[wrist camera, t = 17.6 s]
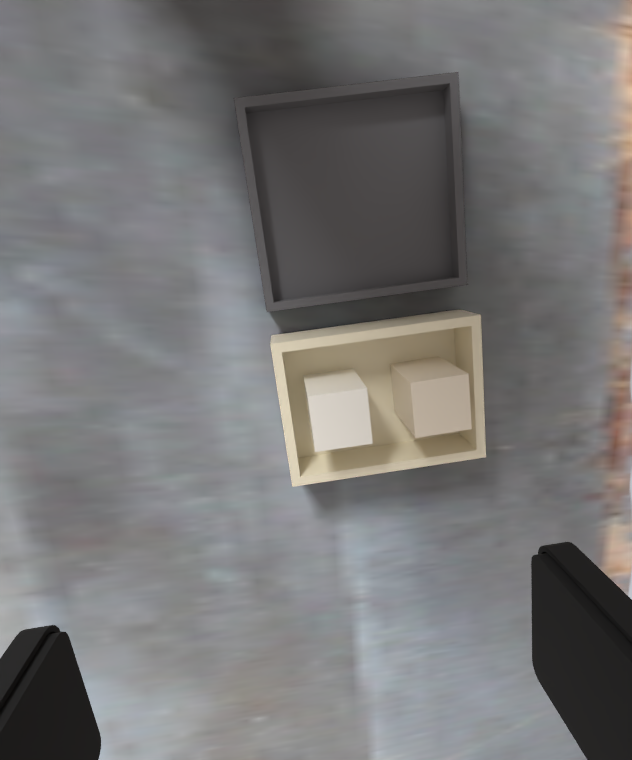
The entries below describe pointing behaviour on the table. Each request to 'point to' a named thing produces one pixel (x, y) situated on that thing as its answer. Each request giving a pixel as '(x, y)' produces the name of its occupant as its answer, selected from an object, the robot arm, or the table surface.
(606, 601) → the robot arm
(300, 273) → the pan
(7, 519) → the table surface
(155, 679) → the table surface
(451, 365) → the stone
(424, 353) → the tub
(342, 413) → the stone
